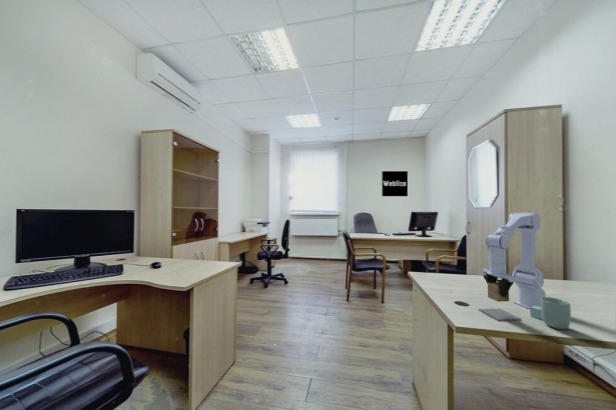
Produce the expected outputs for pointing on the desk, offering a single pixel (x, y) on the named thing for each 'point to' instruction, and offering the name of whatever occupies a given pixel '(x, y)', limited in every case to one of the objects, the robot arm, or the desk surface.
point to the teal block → (536, 312)
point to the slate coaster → (499, 314)
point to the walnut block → (496, 292)
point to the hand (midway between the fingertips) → (498, 294)
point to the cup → (556, 312)
